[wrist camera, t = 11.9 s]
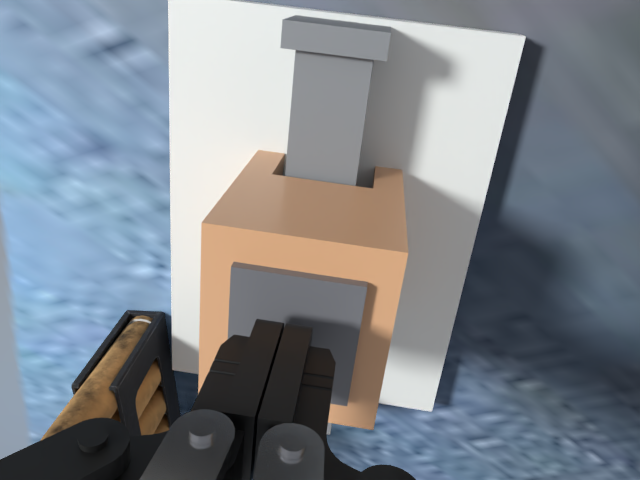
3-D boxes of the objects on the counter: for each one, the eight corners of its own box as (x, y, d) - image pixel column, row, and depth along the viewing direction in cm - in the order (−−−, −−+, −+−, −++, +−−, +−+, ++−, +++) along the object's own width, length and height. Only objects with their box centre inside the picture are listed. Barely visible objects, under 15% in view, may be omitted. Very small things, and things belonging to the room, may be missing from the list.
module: (402, 169, 20) (408, 258, 14) (377, 307, 23) (373, 437, 16) (258, 149, 21) (197, 227, 14) (249, 288, 23) (194, 407, 17)
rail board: (519, 33, 19) (546, 44, 16) (430, 396, 26) (436, 455, 23) (178, -8, 20) (136, -6, 16) (179, 356, 27) (150, 408, 23)
